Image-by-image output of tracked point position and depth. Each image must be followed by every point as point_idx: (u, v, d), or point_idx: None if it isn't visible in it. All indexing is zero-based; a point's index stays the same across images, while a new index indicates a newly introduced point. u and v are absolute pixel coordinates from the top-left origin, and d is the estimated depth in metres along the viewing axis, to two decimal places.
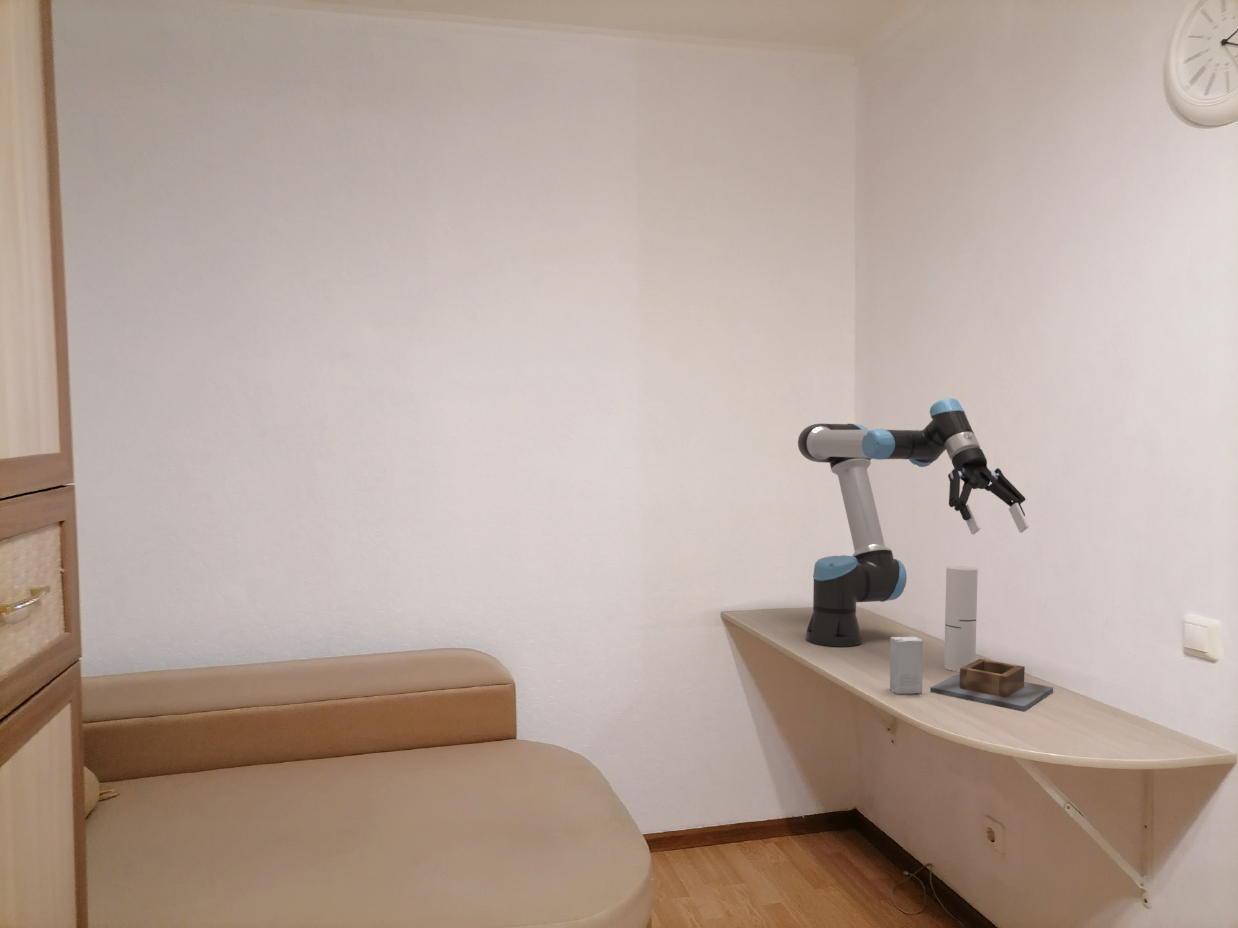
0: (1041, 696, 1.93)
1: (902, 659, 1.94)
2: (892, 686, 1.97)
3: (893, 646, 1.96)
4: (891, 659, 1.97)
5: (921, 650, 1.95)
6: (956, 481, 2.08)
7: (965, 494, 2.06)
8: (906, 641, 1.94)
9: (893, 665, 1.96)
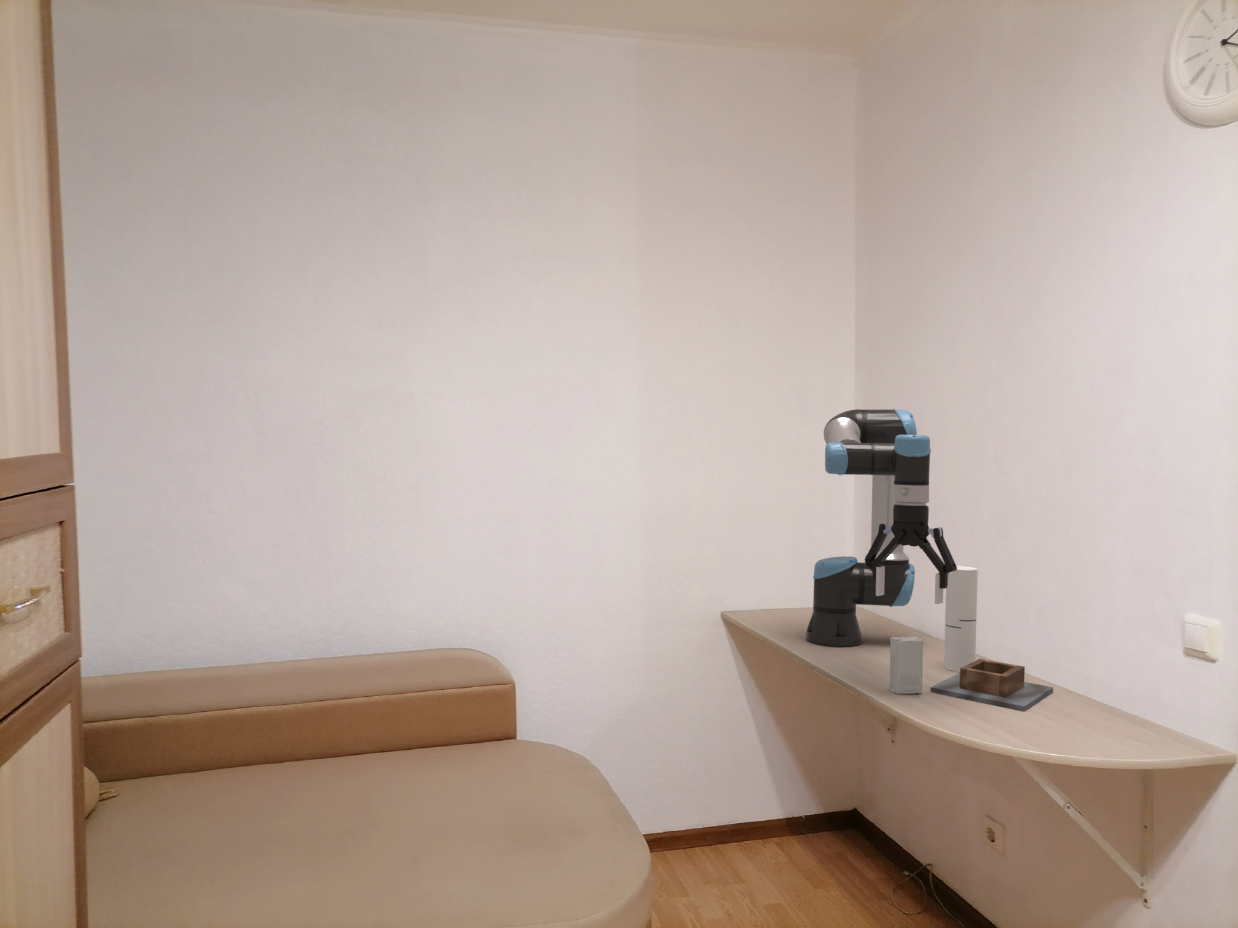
0: (1041, 696, 1.93)
1: (902, 659, 1.94)
2: (892, 686, 1.97)
3: (893, 646, 1.96)
4: (891, 659, 1.97)
5: (921, 650, 1.95)
6: (876, 539, 2.00)
7: (879, 555, 1.99)
8: (906, 641, 1.94)
9: (893, 665, 1.96)
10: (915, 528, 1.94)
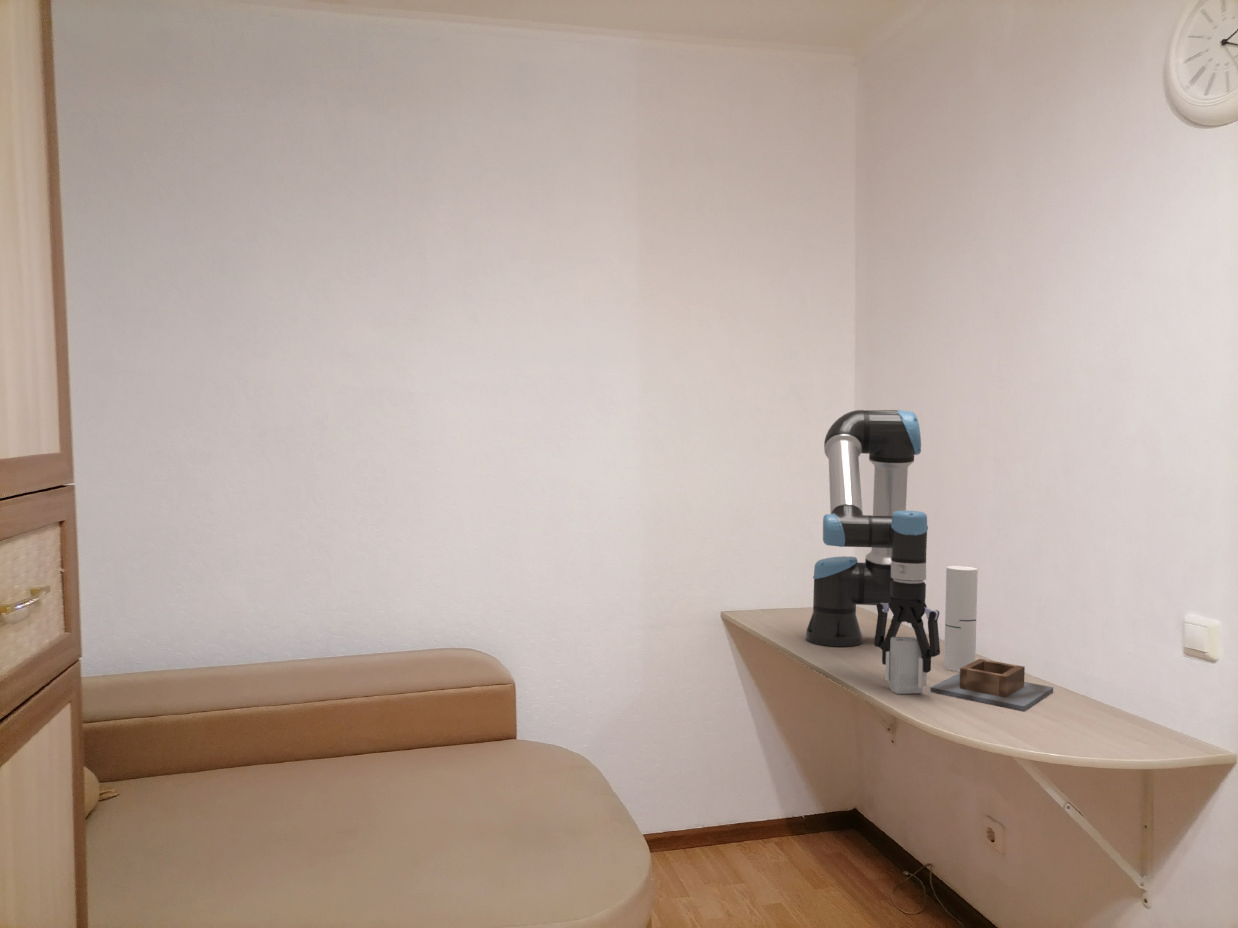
0: (1041, 696, 1.93)
1: (902, 659, 1.94)
2: (892, 686, 1.97)
3: (893, 646, 1.96)
4: (891, 659, 1.97)
5: None
6: (878, 620, 2.00)
7: (886, 638, 1.98)
8: (906, 641, 1.94)
9: (893, 665, 1.96)
10: (913, 603, 1.94)
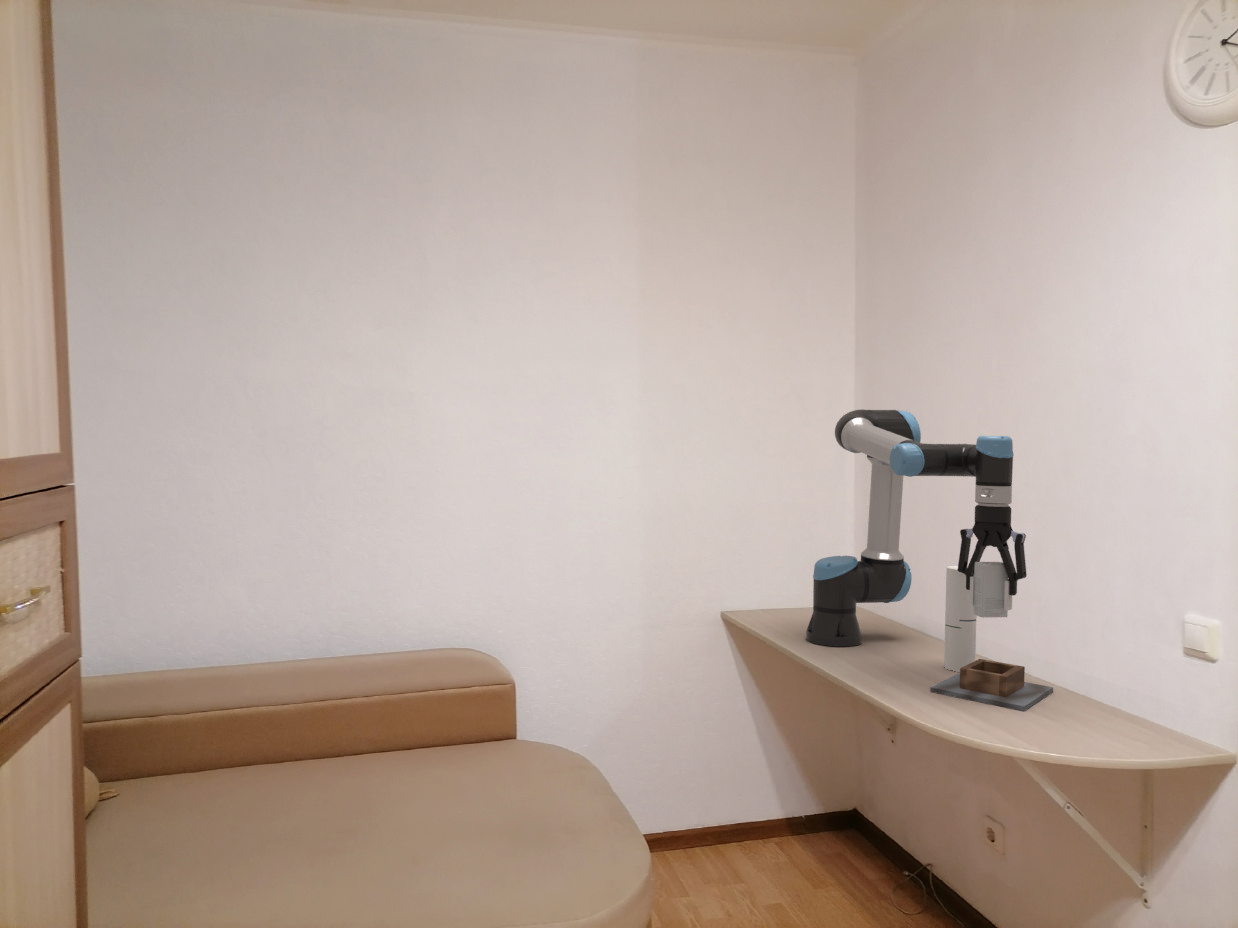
0: (1041, 696, 1.93)
1: (987, 583, 1.95)
2: (976, 610, 1.98)
3: (978, 570, 1.97)
4: (976, 584, 1.98)
5: (1006, 574, 1.95)
6: (962, 546, 2.00)
7: (970, 563, 1.99)
8: (991, 564, 1.95)
9: (978, 589, 1.97)
10: (999, 527, 1.95)
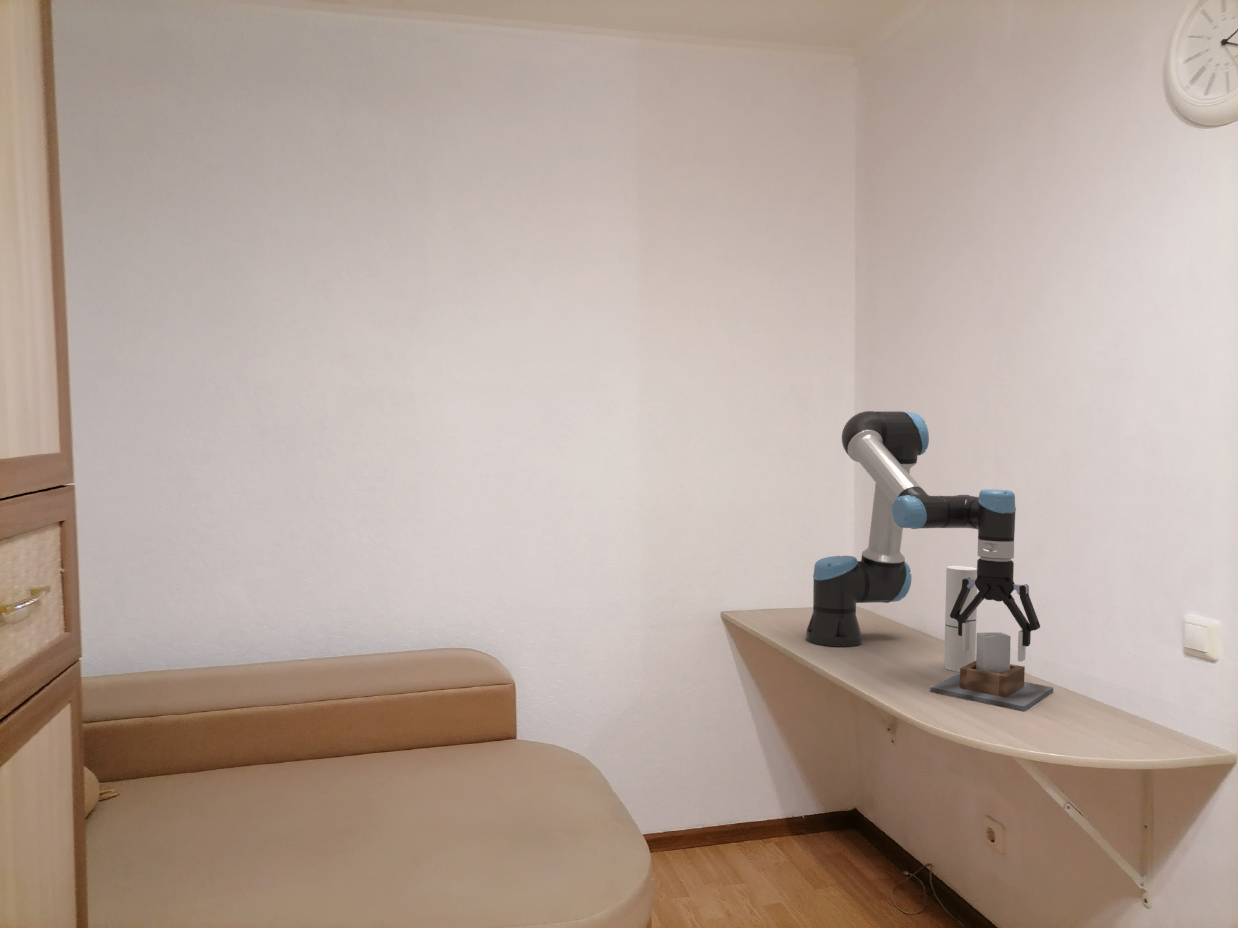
0: (1041, 696, 1.93)
1: (990, 655, 1.95)
2: None
3: (980, 642, 1.97)
4: (978, 655, 1.98)
5: (1009, 646, 1.96)
6: (960, 594, 2.01)
7: (965, 611, 2.00)
8: (994, 637, 1.95)
9: (980, 661, 1.97)
10: (1000, 583, 1.95)
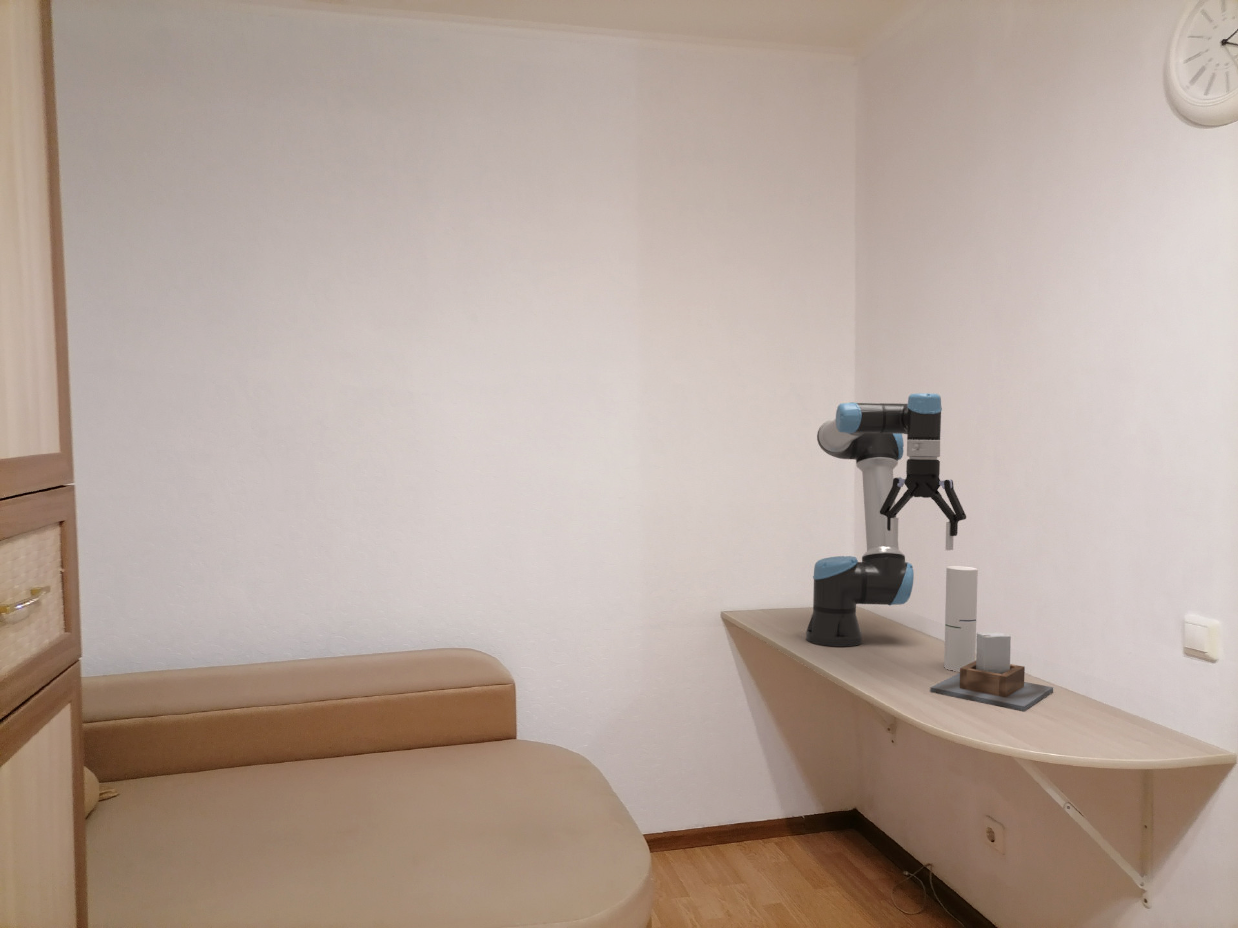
0: (1041, 696, 1.93)
1: (990, 655, 1.95)
2: None
3: (980, 642, 1.97)
4: (978, 655, 1.98)
5: (1009, 646, 1.96)
6: (890, 492, 2.14)
7: (894, 507, 2.14)
8: (994, 637, 1.95)
9: (980, 661, 1.97)
10: (927, 480, 2.08)
